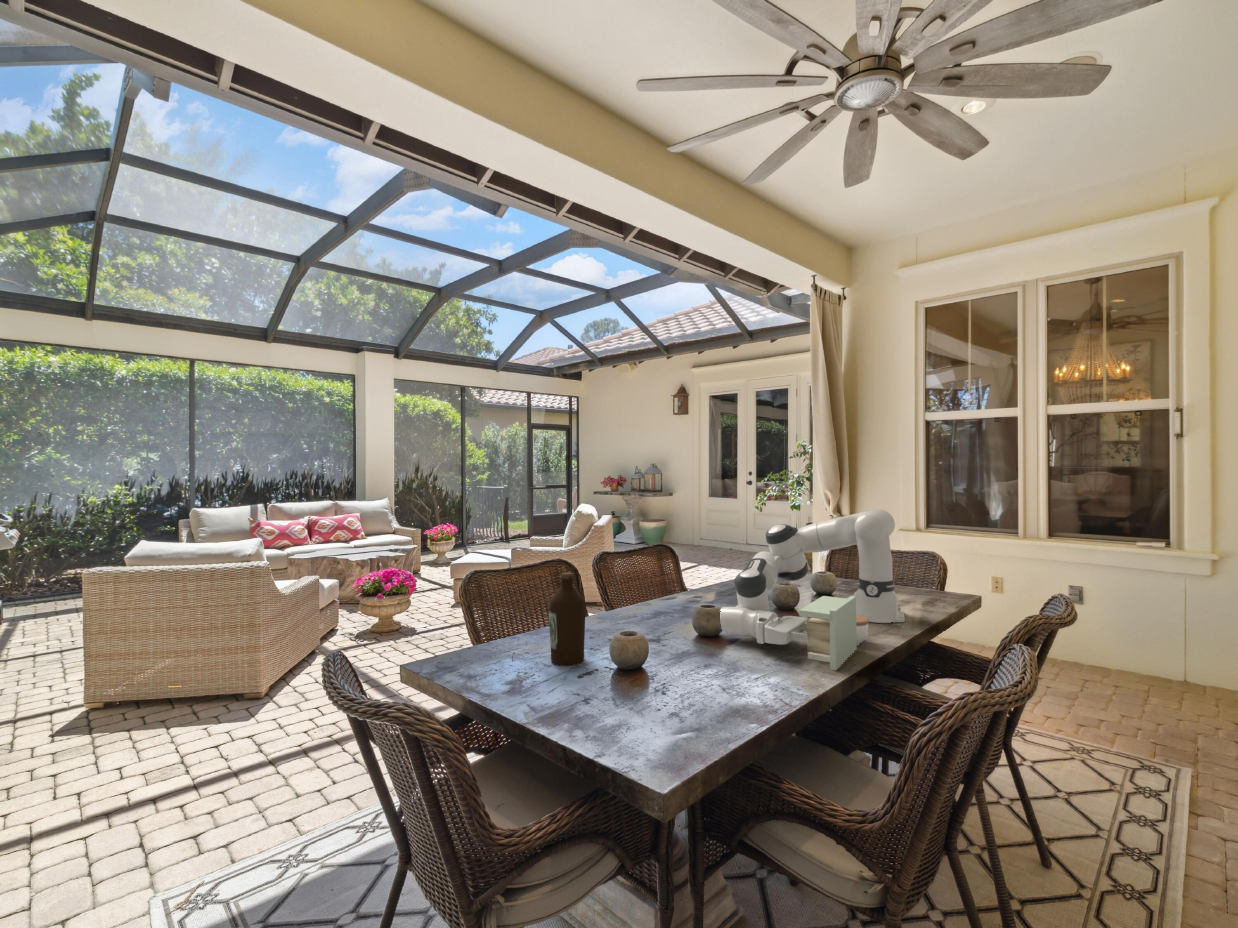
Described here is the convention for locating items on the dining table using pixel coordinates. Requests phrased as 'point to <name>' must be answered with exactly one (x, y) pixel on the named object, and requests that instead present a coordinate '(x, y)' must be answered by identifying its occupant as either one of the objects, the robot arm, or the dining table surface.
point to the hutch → (835, 627)
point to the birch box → (818, 636)
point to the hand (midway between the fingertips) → (813, 633)
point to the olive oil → (567, 624)
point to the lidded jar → (861, 628)
